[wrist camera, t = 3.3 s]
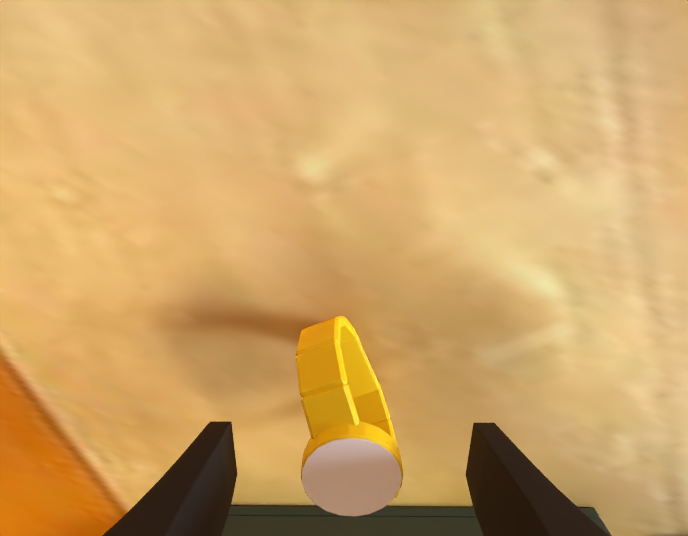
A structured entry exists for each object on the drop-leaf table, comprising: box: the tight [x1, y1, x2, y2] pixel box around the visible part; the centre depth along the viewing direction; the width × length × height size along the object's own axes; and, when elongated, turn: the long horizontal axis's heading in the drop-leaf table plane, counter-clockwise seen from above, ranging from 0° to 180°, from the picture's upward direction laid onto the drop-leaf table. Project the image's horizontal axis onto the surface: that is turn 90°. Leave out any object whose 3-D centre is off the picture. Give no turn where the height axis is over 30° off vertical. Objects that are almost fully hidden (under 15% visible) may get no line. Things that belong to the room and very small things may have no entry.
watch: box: [296, 316, 403, 516], centre depth 14 cm, size 6×3×6 cm, turn 22°
